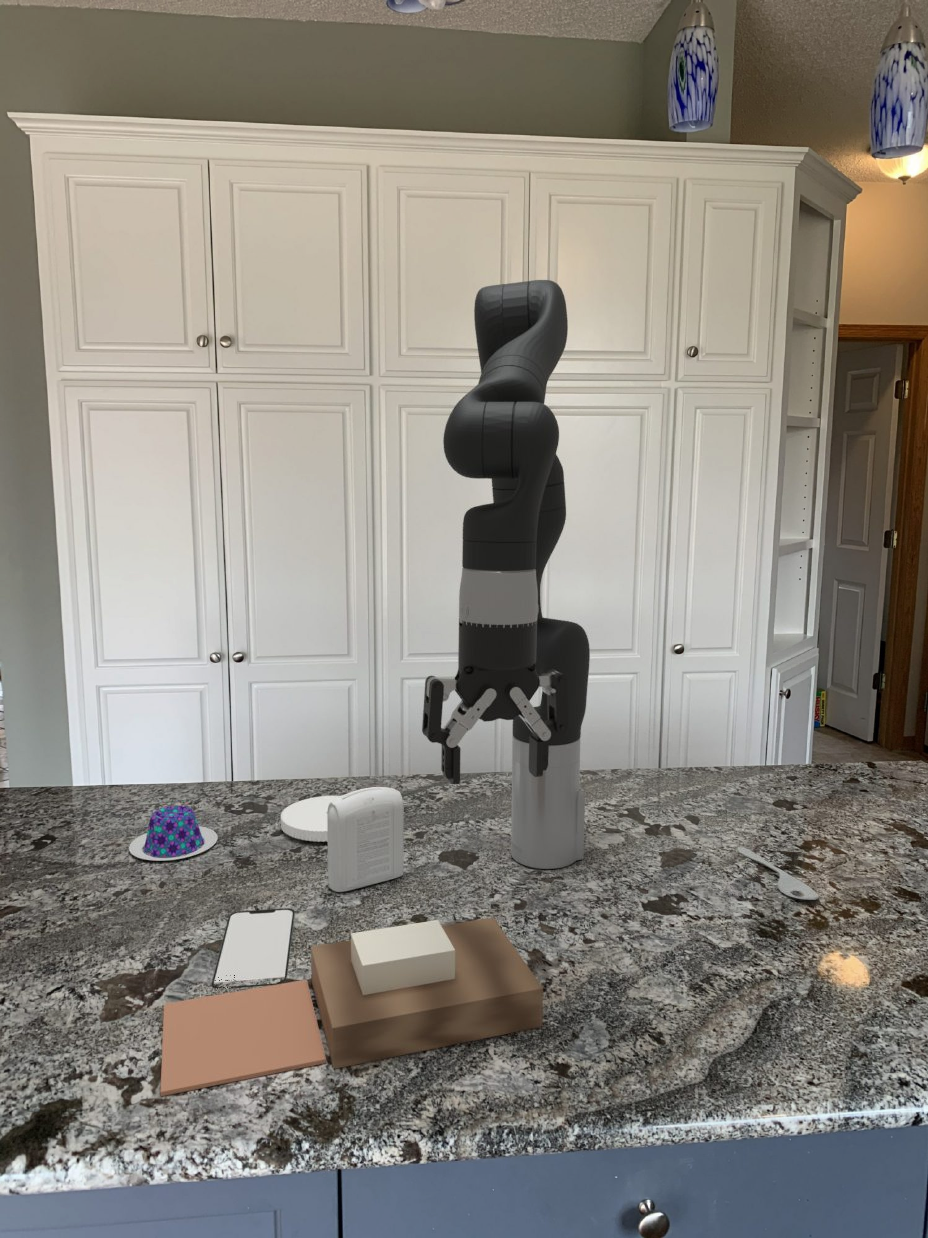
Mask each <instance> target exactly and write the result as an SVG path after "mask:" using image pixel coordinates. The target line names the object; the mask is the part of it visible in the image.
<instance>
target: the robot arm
mask: <svg viewBox="0 0 928 1238" xmlns="http://www.w3.org/2000/svg"><path fill="white" fill-rule="evenodd" d="M473 311H474V314H473V315H474V316H473V317H474V318H473V319H474V328H475V329H474V330H475V339H476V345H477V353H478V359H479V367H480V376H479V379H478V383H477V385H476V386H475V387H473V388H472V389H471V390H470V391H468V392H467V393H466V394H465V395H464V396H462V398H461V399H460V400H459V401H458V402H457V403H456V404H455V405H454V407H453V409H452V411H451V412H450V413H449V416H448V418H447V421H446V423H445V428H444V432H443V441H442V443H443V453H444V455H445V459H446V461H447V463H448V465H449V466H450V467H451V468H452V469H453V471H454V472H455V473H457V474H458V475H460V476H462V477H465V478H469V479H479V480H480V479H481V480H482V479H489V480H491V488H492V490H491V491H492V500H493V501H492V503H491V502H490V503H485V504H481V505H476V506H473V507H471V508H469V509H468V510H467V511H466V512H465V513H464V516H463V521H462V553H461V554H462V557H461V559H462V560H461V562H462V566H461V567H462V569H461V578H460V584H459V591H458V593H459V595H458V596H459V597H458V649H457V650H458V655H457V657H458V659H457V662H458V668H457V672H456V674H455V677H454V678H439V677H436V676H435V675H428V676H427V677H426V679H425V681H424V682H425V683H424V693H423V694H424V695H423V696H424V697H423V698H424V699H423V710H422V711H423V712H422V724H421V725H422V727H421V731H422V734H423V735H424V736H425V737H426V738H427V740H428V741H429V742H430V743H432V744H434V743H437V744H439V745H441V757H440V758H441V759H440V760H441V768H440V769H441V772H442V774H443V776H444V777H445V778H446V779H447V780H448V781H449V783H450V785H459V784H460V783H461V747H460V746H459V743H460V742H461V741H462V739H463V738H464V737H465V735H466V734H467V732H469V731H470V730H472V729H473V728H474V726H475V725H476V723H477V722H478V721H479V720H481V721H483V722H493V721H497V720H499V719H501V720H505V721H512V741H511V744H512V745H511V747H512V749H511V750H512V751H511V756H512V757H511V758H512V759H511V762H512V763H511V820H510V821H511V823H510V824H511V827H510V828H511V829H510V831H511V833H510V835H511V836H510V854H511V857H512V859H513V860H514V861H516V862H517V863H519V864H521V865H524V866H526V867H530V868H534V869H542V870H543V869H545V870H549V869H550V870H551V869H552V870H553V869H561V868H564V867H568V866H570V865H572V864H574V863H575V862H576V861H580V860H584V849H585V847H584V843H585V809H586V806H585V805H586V796H585V792H584V791H582V790H581V788H580V778H581V777H580V774H581V773H580V772H581V771H580V770H581V769H580V767H581V736H582V735H581V734H582V733H581V732H582V724H583V721H584V719H585V714H586V709H587V696H588V683H589V674H590V673H589V671H590V662H591V661H590V659H591V657H590V655H591V654H590V652H591V650H590V649H591V648H590V642H589V638H588V635H587V632H586V631H585V629H584V628H583V626H581V625H580V624H579V623H576V622H573V621H569V620H565V619H564V620H563V619H555V618H550V617H544V616H543V612H542V604H541V603H542V601H541V587H542V586H541V584H542V579H543V574H544V571H545V569H546V567H547V564H548V561H549V559H550V558H551V556H552V554H553V552H554V551H555V548H556V547H557V544H558V542H559V540H560V537H561V535H562V534H563V530H564V528H565V524H566V520H567V519H566V518H567V502H566V488H565V472H564V469H563V465H562V463H561V460H560V459H559V457H558V454H557V450H558V448H559V441H560V428H559V424H558V420H557V418H556V416H555V414H554V412H553V411H552V409H551V408H550V407H549V406H548V405H546V404H545V402H546V401H545V400H546V393H547V385H548V381H549V380H550V378H551V375H552V374H553V372H554V370H555V369H556V367H557V365H558V363H559V362H560V359H561V357H562V355H563V354H564V351H565V348H566V344H567V340H568V328H569V326H568V325H569V323H568V309H567V303H566V299H565V295H564V292H563V289H562V288H561V286H560V285H559V284H558V283H557V282H556V281H553V280H551V279H550V280H549V279H535V280H528V281H519V282H518V281H517V282H509V283H501V284H493V285H488V286H484V287H481V288H480V289H479V290H478V291H477V293H476V296H475V299H474V310H473ZM540 687H541V690H542V691H541V699H540V703H539V705H538V706H533V704H531V702H530V701H531V699H532V698H533V696H534V695H535V694H536V692H537V691H538V689H540ZM452 692H455V693H456V695H457V696H458V697H459V698H460V702H459V703H458V704H457V706H456V707H455V708H454V710H453V711H452V713H451V717H450V719H449V720H448V721H447V723H446V725H444V727H442V718H443V705H444V702H446V701H448V700H449V699H450V694H451V693H452Z"/></svg>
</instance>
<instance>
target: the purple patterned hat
mask: <svg viewBox="0 0 928 1238" xmlns="http://www.w3.org/2000/svg"><path fill="white" fill-rule="evenodd" d="M218 838H219V837H218V834H217V833H216V832H215V831H214V830H213V829H210V828H208V827H205V826H200V825H199V823H198V820H197V817H196V814H195V812H194V811H193V808H191V807H189V806H183V805H173V806H165V807H162V808H161V809H157V810H155V811H154V812H153V813H152V814H151V817H150V819H149V822H148V828H147V832H146V833H143V834H142V835H139V836H138V837H136V838H135V839H133V841H131V843H130V844H129V847H128V850H129V853H130V854H131V855H133V856H134V857H136V858H138V859H141V860H147V861H156V862H157V861H159V862H160V861H175V860H180V859H186V858H189V857H192V856H196V855H198V854H202V853H204V852H206V851H207V850H210V849H211V848H212V847H213V846H214V845H215V844H216V843H217V842H218ZM143 848H144V849H143ZM198 848H199V849H198ZM146 853H147V854H146ZM148 854H150V855H148Z"/></svg>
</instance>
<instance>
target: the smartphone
mask: <svg viewBox="0 0 928 1238" xmlns="http://www.w3.org/2000/svg"><path fill="white" fill-rule="evenodd" d="M295 914H296V911H295V910H294V909H293V908H289V907H288V908H287V907H286V908H269V909H257V910H256V909H255V910H254V909H253V910H243V911H242V910H240V911H238V910H237V911H233V912H231V913H230V914H229V915H228V918H227V922H226V926H225V928H224V929H225V930H224V933H223V937H222V941H221V945H220V949H219V953H218V957H217V960H216V961H217V962H216V964H215V969H214V971H213V972H214V973H213V976H212V981H211V984H210V985H211V987H212V988H213V989H215V990H219V989H218V988H221V987H223V988H225V987H227V988H228V987H229V986H217V985H215V983H217V984H218V983H226V982H227V983H229V982H242V981H251V980H252V981H253V980H254V981H255V980H263V979H264V980H265V979H275V978H276V979H278V978H283V980H281V981H279V982H275V983H261V984H249V985H236V986H234V985H233V986H230V987H231V988H229V989H242V988H253V987H254V988H258V987H266V986H272V985H277V984H283V983H286V981H287V979H288V971H289V965H290V956H291V948H292V940H293V933H294V932H293V931H294V924H295V916H296V915H295ZM226 975H227V976H226ZM230 975H231V976H230ZM234 975H235V976H234ZM218 977H219V978H218ZM234 977H235V978H234ZM221 979H222V980H221ZM233 979H234V980H236V981H234V980H233ZM215 980H216V981H215ZM219 980H220V981H219ZM225 980H230V981H225ZM231 980H232V981H231ZM233 987H235V988H233ZM216 988H217V989H216ZM229 989H228V990H229ZM224 990H227V989H226V988H225V989H224Z"/></svg>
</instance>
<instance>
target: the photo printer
mask: <svg viewBox="0 0 928 1238" xmlns="http://www.w3.org/2000/svg"><path fill="white" fill-rule="evenodd" d="M340 796H341V797H339V798H337V799H335V800H334V801H332V802H331V803H330V804H329V806H328V811H327V831H328V841H327V878H328V879H327V880H328V887H329V889H330V890H332V891H333V892H337V893H343V892H348V891H352V890H356V889H361V888H364V887H367V886H368V887H369V886H372V885H375V884H378V883H382V882H383V883H384V882H386V881H390V880H393V879H396V878H397V879H398V878H399V877H402V876H403V875H404V866H405V865H404V860H405V858H404V852H405V851H404V848H405V847H404V846H405V845H404V842H405V841H404V840H405V838H404V837H405V836H404V826H405V825H404V822H405V821H404V820H405V819H404V813H405V812H404V811H405V810H404V808H405V807H404V800H403V797H402V794H401V792H400V791H399V790H397V789H396V788H392V787H389V786H387V787H386V786H374V787H373V786H372V787H366V788H361V789H356V790H354V791H350V792H348V793H345V794H343V795H340Z"/></svg>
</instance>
